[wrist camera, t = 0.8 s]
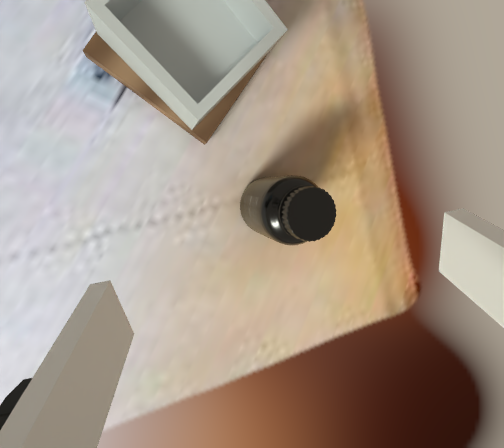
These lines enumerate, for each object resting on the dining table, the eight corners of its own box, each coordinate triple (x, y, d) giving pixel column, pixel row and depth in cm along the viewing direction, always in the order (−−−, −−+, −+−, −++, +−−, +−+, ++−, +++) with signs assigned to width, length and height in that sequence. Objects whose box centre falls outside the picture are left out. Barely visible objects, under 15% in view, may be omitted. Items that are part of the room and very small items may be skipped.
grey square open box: (97, 33, 30) (84, 2, 25) (185, -49, 31) (191, -96, 26) (191, 130, 33) (198, 120, 28) (268, 52, 35) (287, 29, 29)
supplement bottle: (275, 242, 39) (323, 267, 28) (228, 216, 37) (259, 232, 26) (301, 193, 40) (359, 199, 28) (256, 165, 37) (298, 159, 26)
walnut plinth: (88, 60, 32) (82, 50, 30) (166, -50, 33) (167, -68, 30) (203, 145, 36) (206, 142, 34) (270, 46, 37) (278, 37, 35)
